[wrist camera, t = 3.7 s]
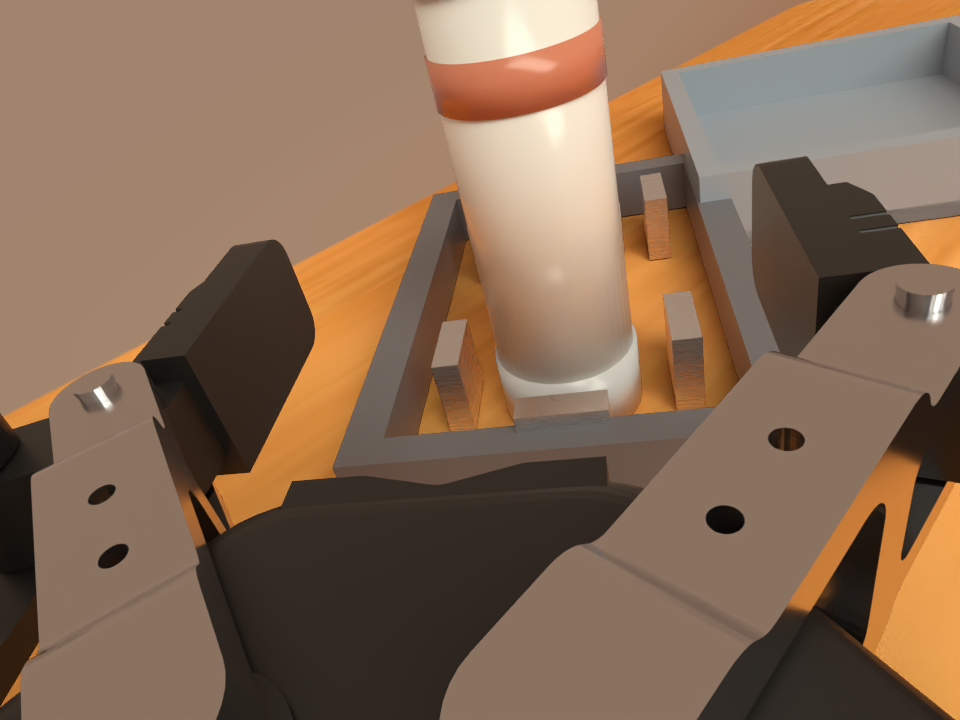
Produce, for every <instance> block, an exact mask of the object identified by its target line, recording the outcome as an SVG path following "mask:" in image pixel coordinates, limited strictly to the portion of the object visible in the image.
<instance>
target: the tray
mask: <svg viewBox="0 0 960 720" xmlns="http://www.w3.org/2000/svg"><path fill="white" fill-rule="evenodd" d="M661 82H662V97H663V113H664V128H665V131H666V135H667V138H668V141H669V144H670V148H671V151H672V154H673V155H678V154H684V157H685V160H686V162H687V165H688V168H689V171H690V174H691V177H692V180H693V183H694V186H695V189H696V192H697V195H698V198H699V201H700V203H703V202H710V201H716V200H723V199H730V198H731V199H732V201H733V203H734V206H735V208H736V210H737V213H738V215H739V217H740V220H741V222H742V224H743V227H744V229H745V231H746V234H747V236H748V238H749V241H750V243H751V244H752V174H753V168H754V165H755V164H759V163H765V162H771V161H778V160H784V159H790V158H797V157H803V156H807V157H808V158H809V159H810V161H811V162H812V163H813V165H814V166H815V168H816V169H817V171H818V172H819V173H820V175H821V176H822V178H823V179H824V181H825V182H826V183H827V185H829V184H836V183H842V182H848V183H850V184H853V185H855V186H857V187H859V188H861V189H864V190H866V191H868V192H870V193H872V194H874V195H875V196H876V198H877V199H878V200H879V201H880V203H881V204H882V205H883V206H884V208H885V209H886V210H887V214H890V215H891V216H892V218H893V219H894V220H895V221H896V223H897V224H899V223H906V222H914V221H921V220H928V219H936V218H943V217H950V216H957V215H960V15H957V16H952V17H947V18H941V19H936V20H931V21H926V22H920V23H915V24H910V25H904V26H899V27H894V28H888V29H883V30H878V31H873V32H867V33H862V34H857V35H851V36H846V37H841V38H836V39H830V40H825V41H820V42H814V43H809V44H804V45H798V46H793V47H788V48H783V49H777V50H772V51H767V52H761V53H756V54H751V55H746V56H740V57H735V58H730V59H724V60H719V61H714V62H709V63H703V64H698V65H693V66H687V67H682V68H677V69H671V70H666V71H661Z"/></svg>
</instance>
